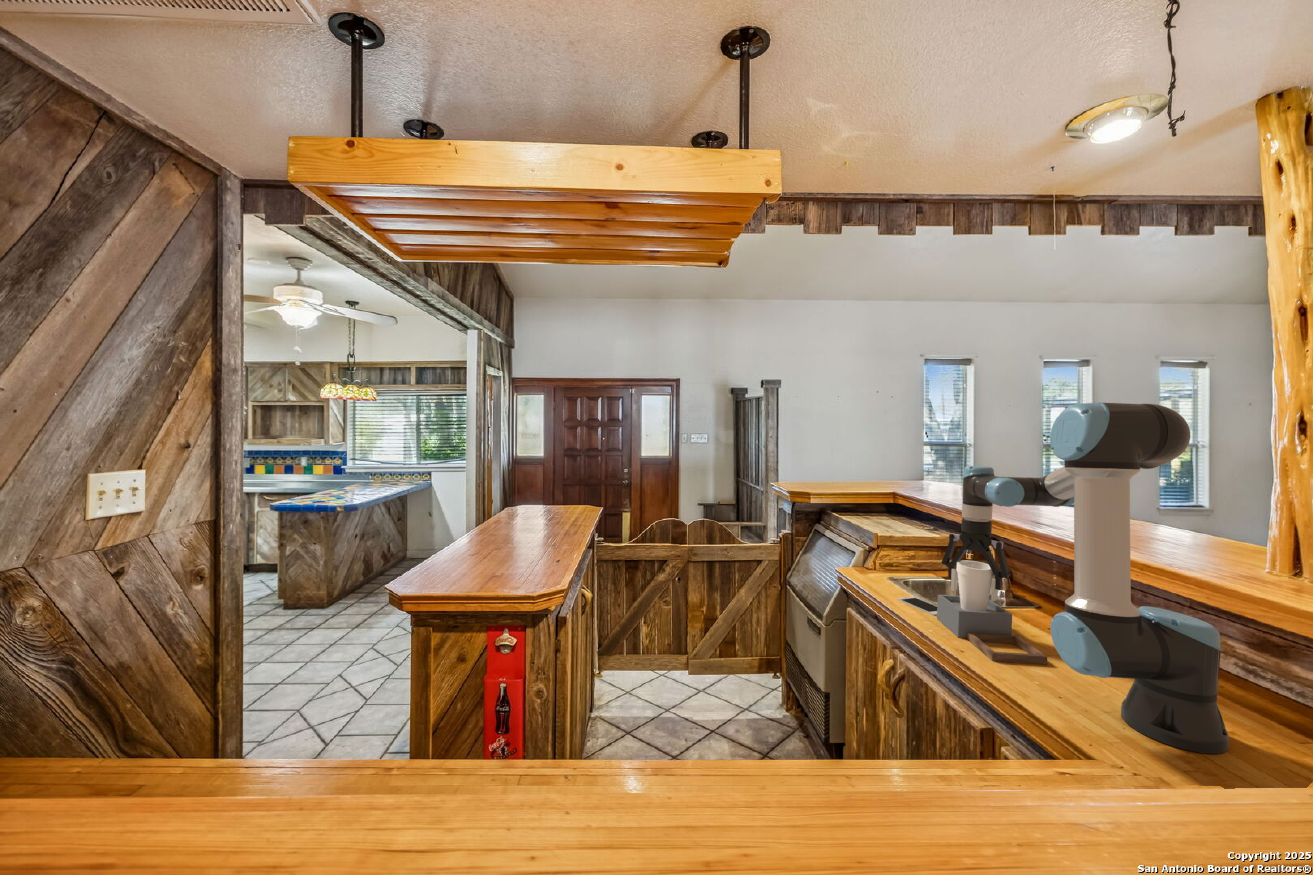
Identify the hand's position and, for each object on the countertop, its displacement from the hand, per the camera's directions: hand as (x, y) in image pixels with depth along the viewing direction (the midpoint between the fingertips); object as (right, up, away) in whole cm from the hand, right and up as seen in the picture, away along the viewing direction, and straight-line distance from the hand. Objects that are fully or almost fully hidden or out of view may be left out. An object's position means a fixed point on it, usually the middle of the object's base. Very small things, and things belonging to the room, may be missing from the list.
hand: (973, 594), depth 152 cm
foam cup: (0, -4, 0) cm, 4 cm away
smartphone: (-5, -10, +19) cm, 22 cm away
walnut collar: (0, -11, -14) cm, 18 cm away
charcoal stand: (0, -10, 0) cm, 10 cm away
